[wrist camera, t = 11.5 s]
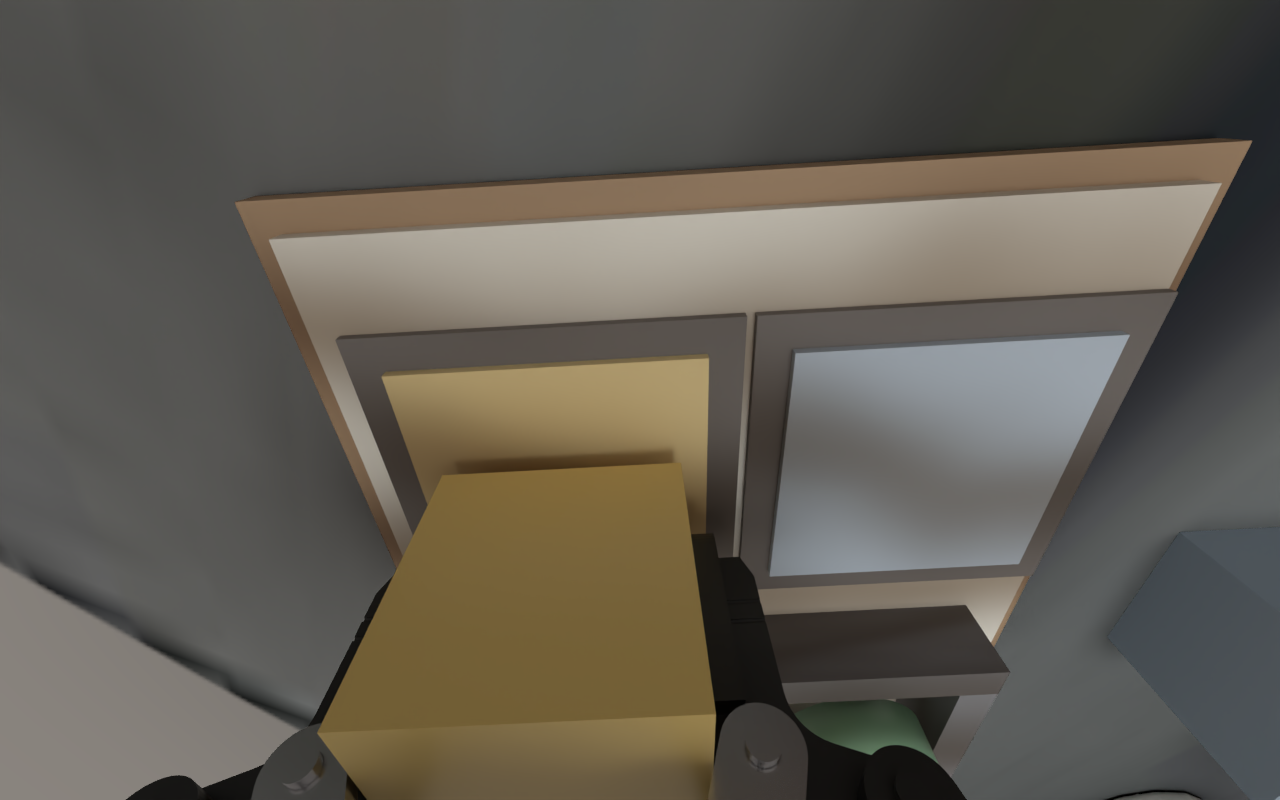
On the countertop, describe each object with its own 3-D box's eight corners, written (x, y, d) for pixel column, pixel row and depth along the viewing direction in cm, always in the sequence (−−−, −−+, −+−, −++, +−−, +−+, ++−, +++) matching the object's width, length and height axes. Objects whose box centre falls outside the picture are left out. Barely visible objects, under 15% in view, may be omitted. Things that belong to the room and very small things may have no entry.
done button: (775, 700, 14) (796, 785, 12) (935, 693, 14) (978, 777, 12) (764, 775, 16) (779, 856, 15) (901, 769, 16) (933, 849, 15)
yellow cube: (442, 475, 11) (316, 732, 6) (680, 462, 11) (715, 713, 6) (491, 623, 13) (425, 878, 9) (682, 614, 13) (708, 865, 9)
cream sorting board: (255, 196, 10) (119, 234, 7) (1219, 138, 9) (1440, 155, 7) (482, 736, 20) (460, 831, 17) (942, 714, 20) (989, 807, 17)
